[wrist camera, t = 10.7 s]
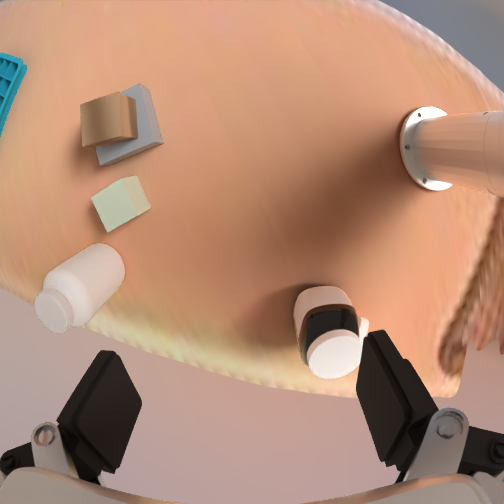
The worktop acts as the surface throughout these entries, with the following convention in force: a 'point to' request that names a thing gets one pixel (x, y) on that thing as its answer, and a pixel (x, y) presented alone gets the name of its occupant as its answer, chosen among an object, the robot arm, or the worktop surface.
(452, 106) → the worktop surface
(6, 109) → the ice cube tray
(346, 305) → the spread jar
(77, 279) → the pill bottle
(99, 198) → the sage cube
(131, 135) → the walnut cube
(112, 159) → the base block
